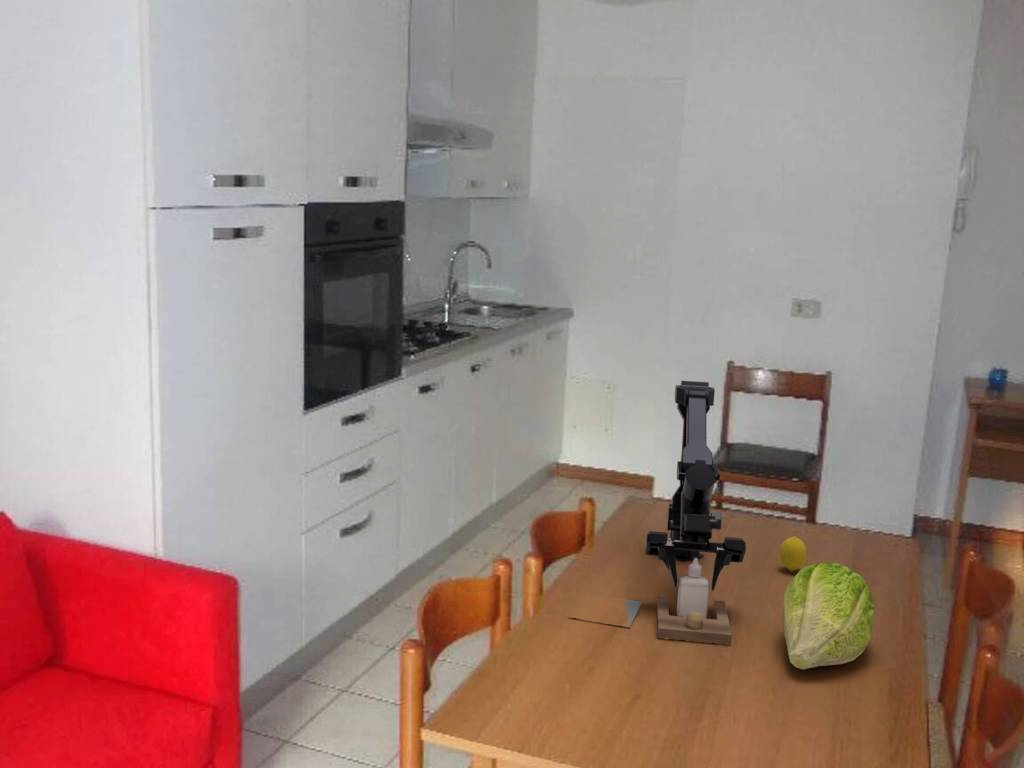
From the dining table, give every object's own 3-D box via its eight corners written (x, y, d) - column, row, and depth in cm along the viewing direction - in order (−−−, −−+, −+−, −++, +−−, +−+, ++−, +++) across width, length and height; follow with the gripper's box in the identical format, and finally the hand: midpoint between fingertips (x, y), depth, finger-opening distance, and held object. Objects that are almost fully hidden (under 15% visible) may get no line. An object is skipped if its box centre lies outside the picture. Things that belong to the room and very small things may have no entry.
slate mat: (583, 594, 199) (583, 592, 198) (642, 604, 195) (642, 602, 195) (567, 617, 187) (567, 615, 187) (629, 628, 184) (630, 626, 184)
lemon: (807, 576, 212) (811, 541, 211) (781, 575, 212) (785, 540, 211) (800, 567, 218) (804, 532, 216) (775, 566, 218) (778, 531, 216)
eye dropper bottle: (700, 625, 186) (705, 565, 184) (673, 617, 189) (677, 558, 187) (709, 617, 190) (714, 558, 188) (682, 610, 193) (686, 551, 191)
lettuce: (845, 710, 165) (756, 686, 175) (891, 621, 182) (808, 604, 192) (837, 637, 160) (745, 617, 169) (885, 553, 177) (799, 539, 187)
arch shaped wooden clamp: (656, 605, 195) (658, 585, 194) (723, 610, 193) (725, 591, 192) (658, 638, 180) (659, 618, 179) (730, 645, 179) (732, 624, 178)
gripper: (650, 491, 190) (646, 566, 181) (749, 498, 188) (750, 575, 179) (647, 517, 199) (643, 590, 191) (741, 524, 197) (742, 598, 188)
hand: (694, 588), depth 187 cm, fingers open, 7 cm apart
